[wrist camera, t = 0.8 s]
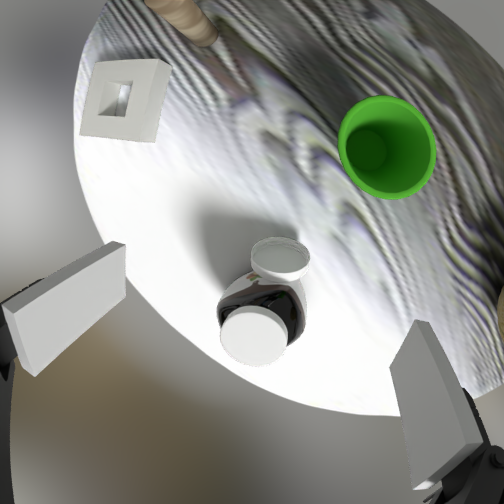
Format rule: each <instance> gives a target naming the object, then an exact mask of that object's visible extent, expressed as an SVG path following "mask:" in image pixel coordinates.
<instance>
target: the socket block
mask: <svg viewBox="0 0 504 504" xmlns="http://www.w3.org/2000/svg"><path fill="white" fill-rule="evenodd" d="M171 71H172V66H171V65H169V64H167V63H165V62H164V61H162V60H160V59H131V60H115V61H103V62H95V65H94V69H93V72H92V76H91V80H90V84H89V88H88V92H87V97H86V101H85V106H84V111H83V116H82V122H81V128H80V134H79V135H81V136H92V137H102V138H111V139H120V140H127V141H135V142H149V143H155V140H156V135H157V130H158V125H159V120H160V116H161V111H162V107H163V102H164V98H165V94H166V90H167V86H168V82H169V78H170V74H171ZM121 85H132V88H131V92H130V96H129V101H128V105H127V110H126V114H125V117H118V116H115V111H116V107H117V102H118V98H119V93H120V89H121Z"/></svg>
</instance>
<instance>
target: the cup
mask: <svg viewBox="0 0 504 504" xmlns="http://www.w3.org/2000/svg"><path fill="white" fill-rule="evenodd" d="M337 146H338V151H339V157H340V160H341V163H342V165H343V167H344V169H345V171H346V173H347V174H348V176H349V177H350V178H351V180H352V181H353V182H354V183H355V184H356V185H357V186H358V187H359V188H361V189H362V190H363V191H365V192H367V193H369V194H370V195H372V196H374V197H378V198H382V199H396V200H397V199H401V198H405V197H409V196H410V195H412V194H414V193H416V192H417V191H419V190H420V189H421V188H422V187H423V186H424V185H425V184H426V183H427V181H428V179H429V178H430V176H431V174H432V172H433V169H434V165H435V162H436V145H435V139H434V135H433V133H432V130H431V128H430V125H429V124H428V122H427V121H426V119H425V118H424V116H423V115H422V114H421V113H420V112H419V111H418V110H417V109H416V108H415V107H414V106H412V105H411V104H409V103H407V102H406V101H404V100H402V99H399V98H396V97H393V96H386V95H377V96H372V97H367V98H365V99H363V100H361V101H359V102H357V103H356V104H355V105H354V106H353V107H352V108H351V109H349V110H348V112H347V113H346V115H345V117H344V118H343V120H342V122H341V125H340V128H339V132H338V145H337Z"/></svg>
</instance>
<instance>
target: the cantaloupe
mask: <svg viewBox="0 0 504 504" xmlns="http://www.w3.org/2000/svg"><path fill="white" fill-rule="evenodd" d="M497 314H498V326H499V330H500V334H501V336H502V339H503V341H504V286H503V287H502V291H501V293H500V296H499V300H498V306H497Z"/></svg>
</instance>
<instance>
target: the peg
mask: <svg viewBox="0 0 504 504" xmlns="http://www.w3.org/2000/svg"><path fill="white" fill-rule="evenodd" d="M144 2H145V4H146V5H147V6H148V7H150V8H151V9H152V10H154V11H155V12H156V13H157V14H159V15H160V16H161V17H163V18H164V19H165V20H166V21H168V22H169V23H170V24H171V25H173V26H174V27H175V28H176V29H178V30H179V31H180V32H181V33H182V34H184V35H185V36H186V37H187V38H188V39H189V40H191V41H192V42H193V43H194V44H195V45H197V46H199V47H207V46H209V45H211V44H213V43H214V42H215V41H216V40H217V38H218V30H217V28H216V27H215V26H214V25H213V24H212V22H211V21H210V20H209V19H208V18H207V16H206V15H205V14H204V13H203V12H202V11H201V10H200V8H199V7H198V6H197V5H196V4H195V3H194V2H193V0H144Z"/></svg>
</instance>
